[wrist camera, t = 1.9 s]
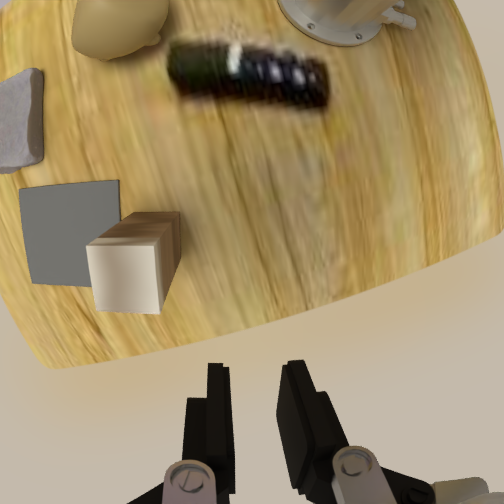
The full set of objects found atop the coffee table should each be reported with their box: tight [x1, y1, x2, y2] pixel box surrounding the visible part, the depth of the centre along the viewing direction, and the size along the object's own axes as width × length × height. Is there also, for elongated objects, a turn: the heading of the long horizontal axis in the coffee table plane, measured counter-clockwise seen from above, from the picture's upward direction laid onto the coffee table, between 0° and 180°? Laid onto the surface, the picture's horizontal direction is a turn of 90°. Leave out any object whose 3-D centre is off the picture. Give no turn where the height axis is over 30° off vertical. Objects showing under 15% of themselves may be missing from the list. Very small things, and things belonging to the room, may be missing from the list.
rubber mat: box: [19, 180, 121, 287], centre depth 29 cm, size 14×12×1 cm
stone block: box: [0, 68, 44, 174], centre depth 23 cm, size 12×5×10 cm
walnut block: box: [86, 212, 181, 314], centre depth 25 cm, size 5×5×12 cm
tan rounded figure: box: [71, 0, 169, 62], centre depth 17 cm, size 10×12×11 cm
